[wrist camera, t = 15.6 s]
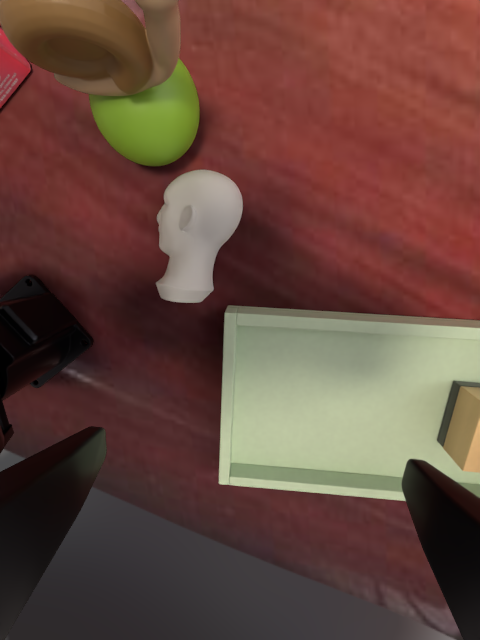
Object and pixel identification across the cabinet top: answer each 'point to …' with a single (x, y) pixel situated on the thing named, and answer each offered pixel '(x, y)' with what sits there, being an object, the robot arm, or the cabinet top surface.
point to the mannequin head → (195, 232)
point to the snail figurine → (115, 68)
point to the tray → (339, 398)
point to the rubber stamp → (462, 426)
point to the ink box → (10, 68)
